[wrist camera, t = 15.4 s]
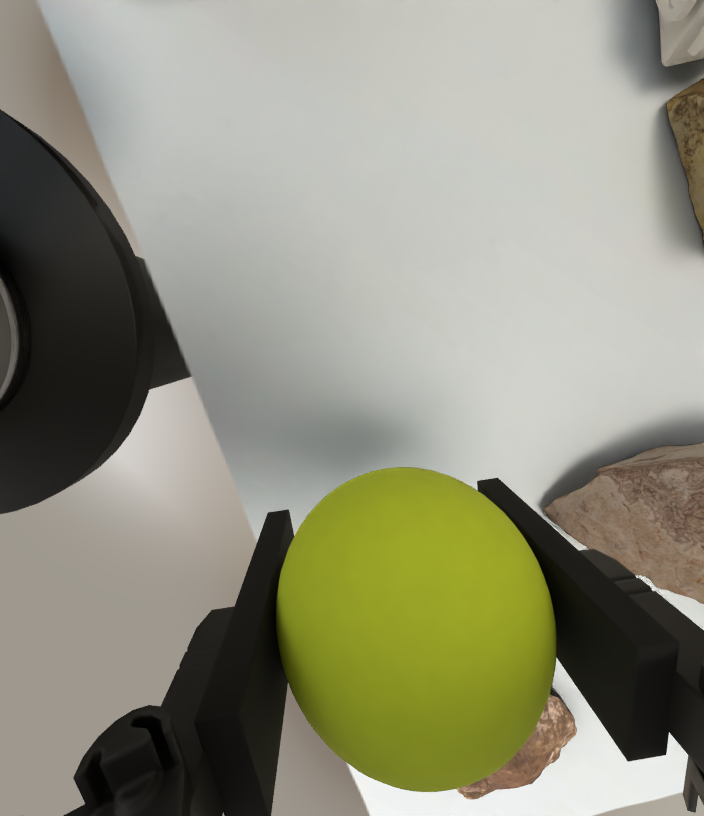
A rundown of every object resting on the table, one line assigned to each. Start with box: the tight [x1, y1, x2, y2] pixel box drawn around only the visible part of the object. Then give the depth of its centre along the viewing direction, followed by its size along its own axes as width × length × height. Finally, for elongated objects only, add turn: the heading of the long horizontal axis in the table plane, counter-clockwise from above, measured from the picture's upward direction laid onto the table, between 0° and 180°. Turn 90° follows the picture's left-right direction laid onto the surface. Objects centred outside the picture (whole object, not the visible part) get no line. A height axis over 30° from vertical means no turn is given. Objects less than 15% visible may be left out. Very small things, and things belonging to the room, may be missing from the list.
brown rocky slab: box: [456, 689, 577, 800], centre depth 28 cm, size 12×13×4 cm
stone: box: [542, 443, 704, 604], centre depth 22 cm, size 15×9×10 cm
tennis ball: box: [276, 467, 557, 792], centre depth 9 cm, size 7×7×7 cm
